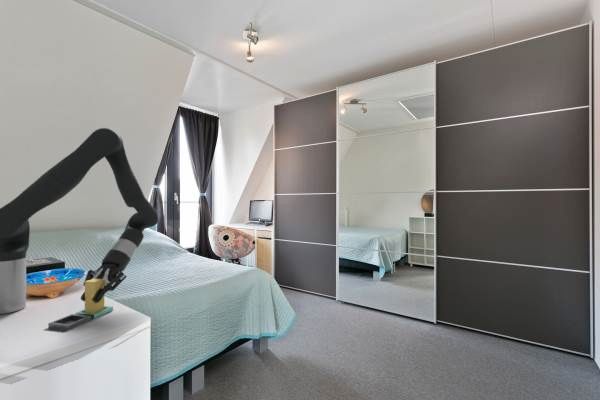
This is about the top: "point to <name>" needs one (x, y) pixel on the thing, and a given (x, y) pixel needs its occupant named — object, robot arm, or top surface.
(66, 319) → the base
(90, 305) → the peg
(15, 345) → the top surface
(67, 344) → the top surface
